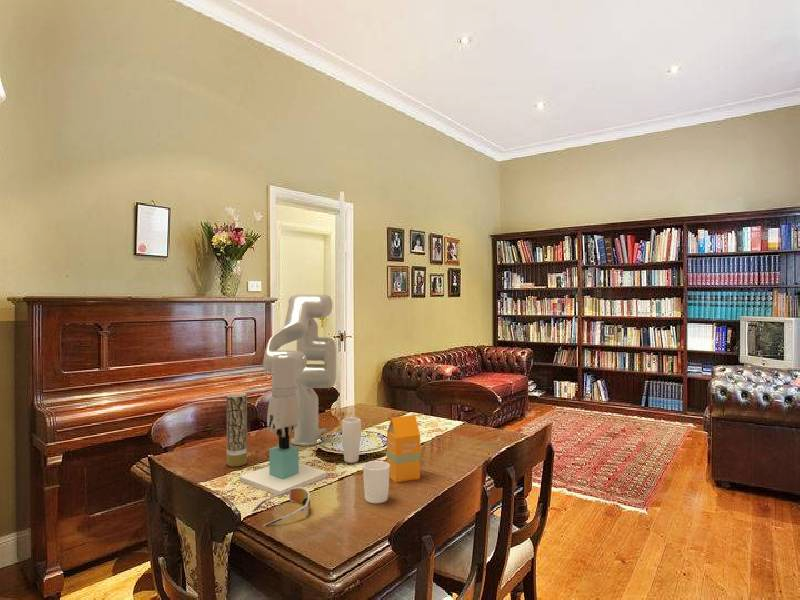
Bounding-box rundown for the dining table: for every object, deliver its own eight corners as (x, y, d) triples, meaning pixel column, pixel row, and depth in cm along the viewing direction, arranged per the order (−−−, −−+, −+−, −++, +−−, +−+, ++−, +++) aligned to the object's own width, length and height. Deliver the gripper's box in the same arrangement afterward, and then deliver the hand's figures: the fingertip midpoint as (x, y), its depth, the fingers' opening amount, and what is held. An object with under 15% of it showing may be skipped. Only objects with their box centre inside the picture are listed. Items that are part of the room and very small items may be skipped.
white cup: (379, 506, 140) (380, 471, 139) (357, 500, 144) (357, 466, 144) (394, 497, 146) (394, 463, 146) (373, 491, 150) (373, 459, 150)
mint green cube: (285, 469, 165) (285, 443, 165) (298, 473, 161) (298, 447, 161) (269, 474, 160) (269, 448, 160) (282, 479, 156) (282, 452, 156)
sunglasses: (320, 515, 135) (317, 497, 134) (267, 538, 126) (264, 519, 126) (300, 497, 146) (297, 481, 146) (250, 517, 138) (247, 500, 138)
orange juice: (386, 474, 165) (386, 415, 164) (410, 470, 168) (410, 412, 168) (395, 482, 157) (395, 420, 157) (420, 478, 161) (420, 418, 161)
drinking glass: (363, 458, 180) (363, 418, 180) (356, 465, 173) (356, 422, 173) (346, 456, 182) (346, 416, 182) (338, 462, 176) (338, 421, 175)
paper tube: (240, 468, 170) (240, 396, 169) (222, 466, 171) (222, 395, 171) (250, 461, 176) (250, 392, 176) (233, 460, 178) (233, 391, 178)
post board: (287, 463, 174) (287, 459, 174) (327, 476, 162) (327, 471, 162) (239, 480, 158) (239, 476, 158) (280, 496, 146) (280, 491, 146)
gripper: (293, 387, 168) (293, 440, 168) (257, 394, 156) (257, 451, 156) (309, 389, 164) (309, 444, 164) (273, 397, 152) (273, 456, 152)
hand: (284, 447), depth 160 cm, fingers closed
